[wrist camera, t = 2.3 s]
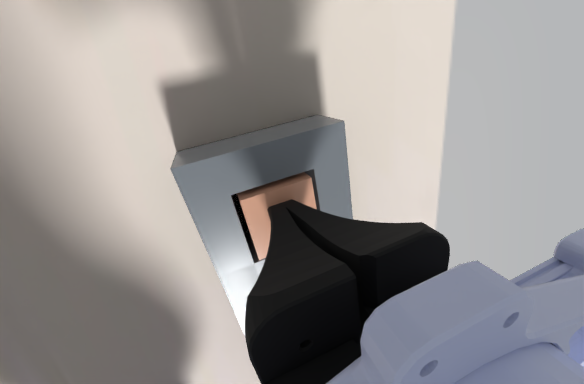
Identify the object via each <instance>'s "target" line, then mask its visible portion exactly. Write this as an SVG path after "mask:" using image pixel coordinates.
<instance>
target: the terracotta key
mask: <svg viewBox="0 0 584 384" xmlns="http://www.w3.org/2000/svg"><path fill="white" fill-rule="evenodd" d="M237 196H238V199H239V202H240V205H241V208H242V211H243V215H244V218H245V221H246V224H247V227H248V230H249V233H250V236H251V238H252V241H253V244H254V247H255V250H256V253H257V256H258V259H259V260H261V259H264V258H266V255H267V252H268V247H269V242H270V233H271V221H270V218H269V214H268V210H267V209H268V208H269V207H270V206H273V205H276V204H279V203H282V202H285V201H288V200H291V199H293V200H295V201H298V202H300V203H302V204H305V205H307V206H309V207H312V208H314V209H317V208H316V202H315V196H314V190H313V184H312V178H311V177H310V176H309V175H307V174H306V173H305V172H302V173H299V174H296V175H293V176H290V177H286V178H283V179H280V180H277V181H274V182H271V183H268V184H264V185H261V186H258V187H255V188H252V189H249V190H246V191H242V192H239V193H237Z"/></svg>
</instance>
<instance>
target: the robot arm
mask: <svg viewBox="0 0 584 384" xmlns="http://www.w3.org/2000/svg"><path fill="white" fill-rule="evenodd" d="M267 210H268V214H269V218H270V221H271V233H270V242H269V247H268V252H267V255H266V259H265V262H264V265H263V267H262V270H261V272H260V274H259V277H258V279H257V281H256V283H255V285H254V286H253V288H252V290H251V291H250V293H249V295H248V296H247V302H246V312H245V338H246V343H247V348H248V352H249V357H250V360H251V362H252V365H253V367H254V369H255V371H256V373H257V375H258V378H259V380H260V382H261V384H584V228H583V229H580V230H578V231H576V232H574V233H572V234H570V235H568V236H566V237H564V238H563V239H561V240H560V242H559V243H558V244H557V246H556V248H555V251H554V254H553V255H554V257H552V258H551V259H549V260H547V261H545V262H543V263H541V264H539V265H538V266H536V267H534V268H532V269H530V270H528V271H526V272H525V273H523V274H521V275H519V276H517V277H515V278H513V279H512V280H510V281H509V280H508V279H506V278H504V277H503V276H501V275H500V274H498V273H496V272H495V271H493V270H492V269H490V268H488V267H487V266H485V265H483V264H482V263H480V262H479V261H471V262H467V263H463V264H459V265H457V266H455V267H453V268H451V269H449V270H447V269H448V262H449V255H450V253H449V252H450V247H449V243H448V241H447V239H446V238H445V237H444V236H443V235H442V234H440V233H439V232H437V231H436V230H434V229H432V228H431V227H429V226H427V225H426V224H424V223H422V222H419V223H378V222H367V221H359V220H353V219H348V218H344V217H339V216H335V215H332V214H329V213H326V212H323V211H320V210H317V209H314V208H312V207H309V206H307V205H305V204H302V203H300V202H298V201H295V200H293V199H291V200H288V201H285V202H282V203H279V204H276V205H273V206H270V207H269V208H268V209H267Z"/></svg>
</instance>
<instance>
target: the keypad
mask: <svg viewBox="0 0 584 384" xmlns="http://www.w3.org/2000/svg"><path fill="white" fill-rule="evenodd" d="M171 171H172V173H173V176H174V178H175V180H176V182H177V185H178V187H179V189H180V191H181V194H182V196H183V198H184V200H185V203H186V205H187V207H188V209H189V212H190V214H191V216H192V218H193V221H194V223H195V225H196V227H197V230H198V232H199V234H200V236H201V239H202V241H203V243H204V245H205V248H206V250H207V252H208V254H209V257H210V259H211V261H212V263H213V266H214V268H215V270H216V272H217V274H218V277H219V279H220V281H221V283H222V286H223V288H224V290H225V292H226V295H227V297H228V299H229V301H230V304H231V306H232V308H233V310H234V313H235V315H236V317H237V319H238V322H239V324H240V326H241V328H242V331H243V333H244V335H245V312H246V302H247V296H248V295H249V293H250V291H251V290H252V288H253V286H254V285H255V283H256V281H257V279H258V277H259V274H260V272H261V270H262V267H263V265H264V262H265V259H266V258H264V259H261V260H259V259H258V256H257V253H256V250H255V247H254V244H253V241H252V238H251V236H250V233H247V234H245V233H244V230H243V227H242V224H241V221H240V218H239V215H238V213H237V210H236V207H235V204H234V201H233V198H232V195H233V194H236V193H239V192H242V191H246V190H249V189H252V188H255V187H258V186H261V185H264V184H268V183H271V182H274V181H277V180H280V179H283V178H286V177H290V176H293V175H296V174H299V173H302V172H305V173H306V174H307V175H309V176H310V177H311V178H312V184H313V190H314V196H315V202H316V208H317V210H320V211H323V212H326V213H329V214H332V215H335V216H339V217H344V218H348V219H353V215H352V204H351V193H350V181H349V170H348V158H347V147H346V136H345V124H344V121H343V120H338V119H334V118H330V117H325V116H321V115H315V116H311V117H307V118H303V119H300V120H296V121H292V122H288V123H285V124H281V125H277V126H273V127H269V128H266V129H262V130H258V131H254V132H250V133H247V134H243V135H239V136H235V137H231V138H228V139H224V140H220V141H216V142H212V143H209V144H205V145H201V146H197V147H193V148H190V149H186V150H182V151H178V152H176V155H175V158H174V160H173V163H172V166H171Z"/></svg>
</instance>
